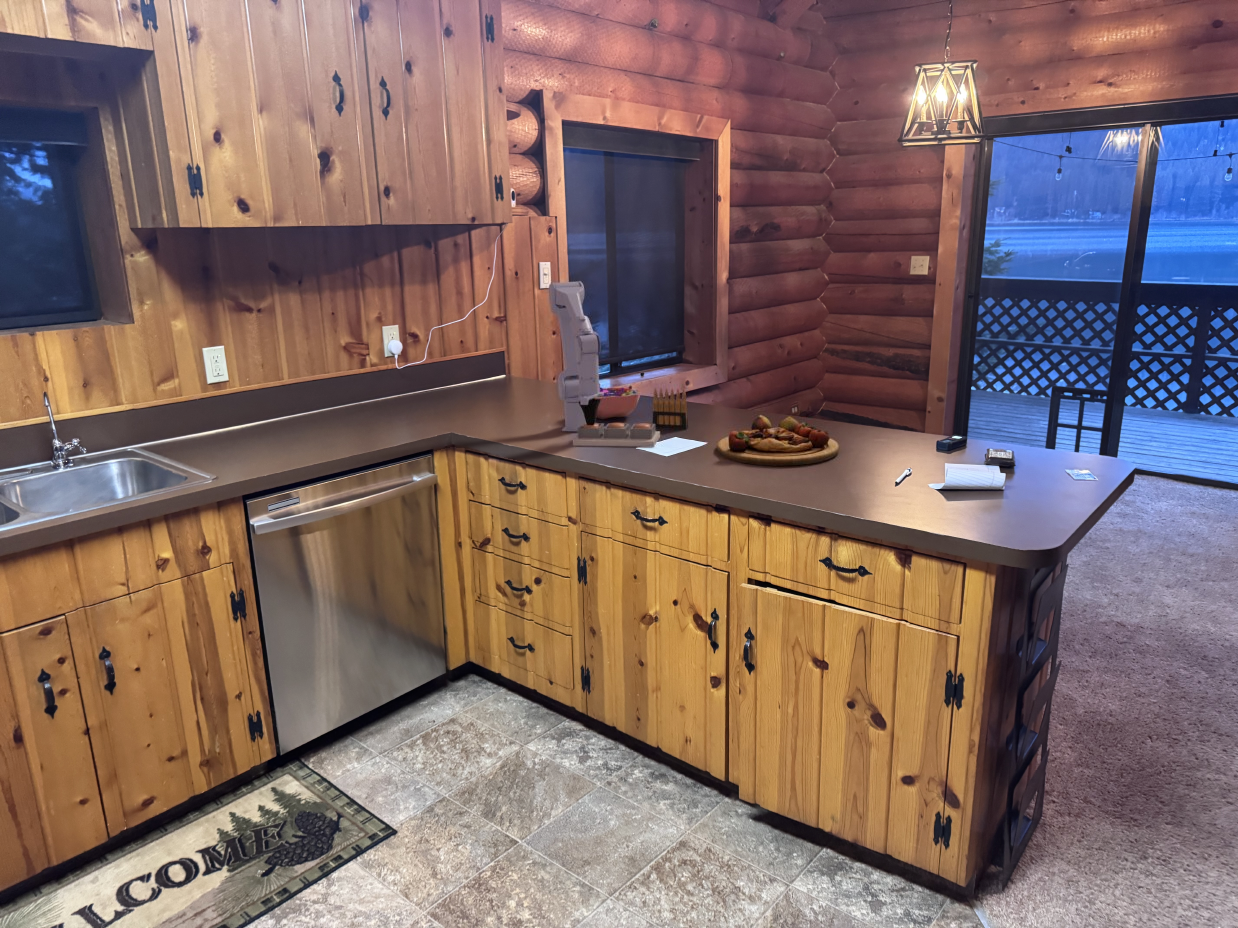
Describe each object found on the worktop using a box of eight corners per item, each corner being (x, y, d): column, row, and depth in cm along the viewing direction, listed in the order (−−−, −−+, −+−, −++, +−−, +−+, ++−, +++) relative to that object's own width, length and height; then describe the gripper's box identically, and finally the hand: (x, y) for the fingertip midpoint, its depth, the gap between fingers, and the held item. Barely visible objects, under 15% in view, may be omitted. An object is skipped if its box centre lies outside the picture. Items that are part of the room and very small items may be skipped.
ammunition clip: (652, 427, 259) (651, 388, 256) (654, 426, 261) (653, 387, 258) (686, 429, 256) (686, 389, 253) (688, 428, 257) (687, 388, 254)
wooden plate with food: (739, 473, 211) (739, 440, 209) (702, 443, 241) (701, 414, 239) (860, 462, 217) (861, 430, 214) (809, 434, 247) (810, 406, 245)
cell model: (641, 423, 266) (640, 387, 263) (577, 424, 267) (575, 388, 264) (641, 411, 283) (640, 377, 280) (580, 413, 283) (579, 379, 280)
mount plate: (582, 435, 253) (582, 421, 252) (660, 436, 248) (659, 421, 247) (572, 445, 241) (572, 430, 240) (653, 446, 237) (653, 431, 236)
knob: (636, 434, 246) (636, 423, 245) (651, 434, 245) (651, 423, 244) (634, 437, 241) (633, 426, 240) (649, 438, 241) (649, 426, 240)
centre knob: (610, 433, 247) (610, 422, 246) (625, 433, 246) (625, 422, 245) (607, 437, 243) (607, 426, 242) (623, 437, 242) (622, 426, 241)
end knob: (585, 433, 248) (585, 422, 248) (600, 433, 248) (599, 422, 247) (582, 437, 244) (581, 426, 243) (597, 437, 243) (596, 426, 243)
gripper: (597, 382, 234) (599, 430, 237) (607, 373, 247) (609, 419, 251) (572, 382, 235) (574, 430, 239) (584, 373, 249) (586, 419, 252)
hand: (590, 424), depth 245 cm, fingers closed, pressing on end knob
